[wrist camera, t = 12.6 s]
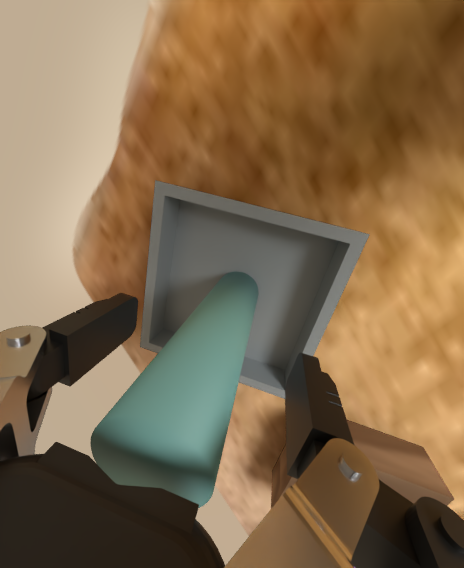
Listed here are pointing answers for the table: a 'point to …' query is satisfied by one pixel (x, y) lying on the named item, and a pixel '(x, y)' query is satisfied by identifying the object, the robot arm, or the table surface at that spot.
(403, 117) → the table surface
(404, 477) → the hole block
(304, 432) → the robot arm
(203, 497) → the dowel
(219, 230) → the tray
